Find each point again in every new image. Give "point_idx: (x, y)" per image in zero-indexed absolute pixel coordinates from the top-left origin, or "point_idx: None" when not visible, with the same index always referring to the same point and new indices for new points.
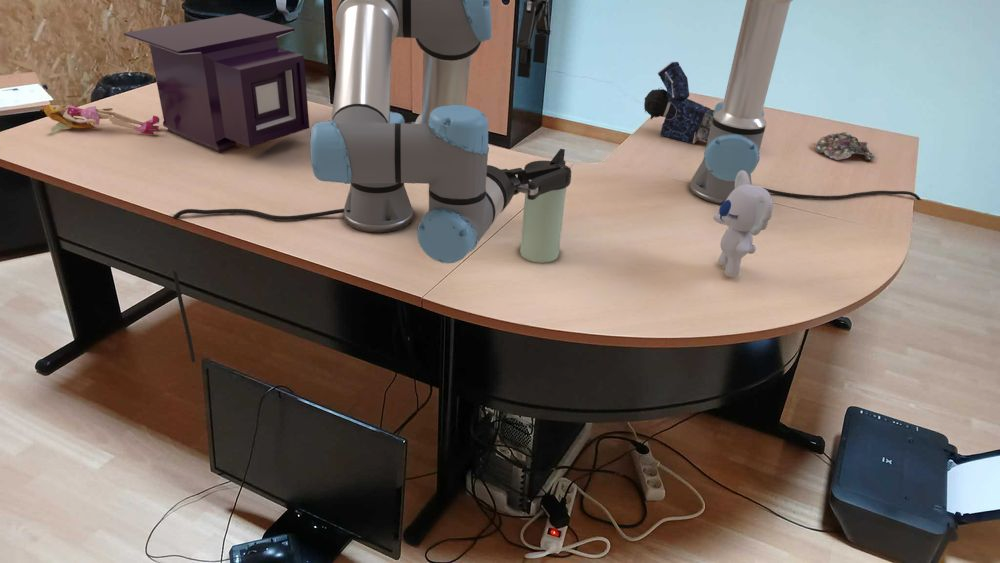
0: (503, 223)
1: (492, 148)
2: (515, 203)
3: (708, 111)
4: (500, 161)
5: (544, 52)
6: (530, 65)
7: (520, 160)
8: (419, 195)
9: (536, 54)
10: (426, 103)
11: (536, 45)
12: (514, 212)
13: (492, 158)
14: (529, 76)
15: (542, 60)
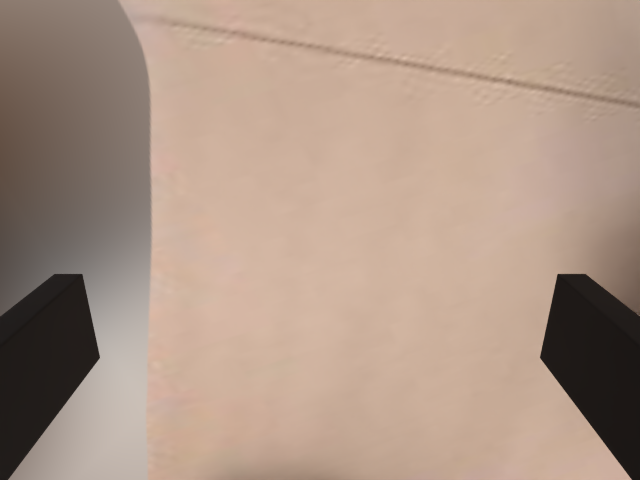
0: (630, 111)
1: (154, 285)
2: (497, 116)
3: None
4: (232, 238)
5: (23, 327)
6: (621, 327)
7: (194, 189)
8: (519, 343)
9: (61, 378)
10: None
11: (4, 454)
12: (556, 102)
13: (223, 264)
14: (568, 276)
15: (73, 296)
